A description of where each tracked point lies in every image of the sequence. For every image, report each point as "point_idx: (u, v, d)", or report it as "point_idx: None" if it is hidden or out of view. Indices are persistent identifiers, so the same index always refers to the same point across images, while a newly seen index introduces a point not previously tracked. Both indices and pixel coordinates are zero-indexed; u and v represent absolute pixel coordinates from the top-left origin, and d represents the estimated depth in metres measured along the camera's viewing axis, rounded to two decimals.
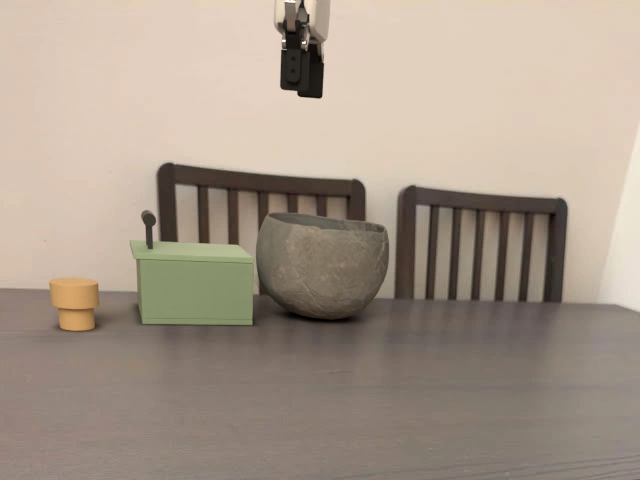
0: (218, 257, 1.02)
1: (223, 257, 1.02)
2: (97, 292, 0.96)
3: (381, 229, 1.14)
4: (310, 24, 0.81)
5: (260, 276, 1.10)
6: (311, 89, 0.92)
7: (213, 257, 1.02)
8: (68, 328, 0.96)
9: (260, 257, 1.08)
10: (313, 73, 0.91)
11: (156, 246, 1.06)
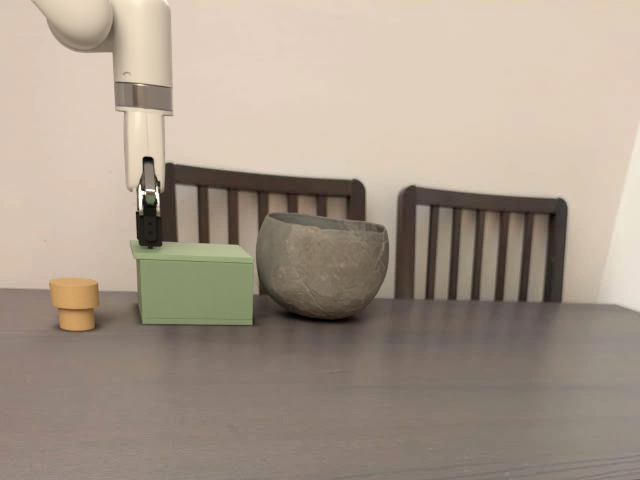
0: (218, 257, 1.02)
1: (223, 257, 1.02)
2: (97, 292, 0.96)
3: (381, 229, 1.14)
4: None
5: (260, 276, 1.10)
6: None
7: (213, 257, 1.02)
8: (68, 328, 0.96)
9: (260, 257, 1.08)
10: None
11: None
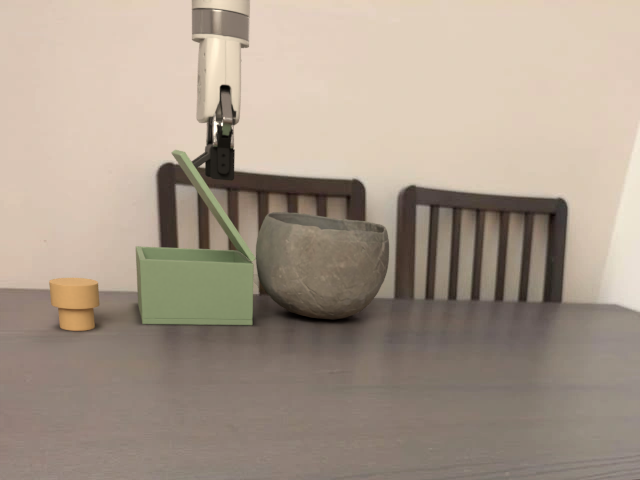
0: (234, 228, 1.01)
1: (237, 233, 1.01)
2: (97, 292, 0.96)
3: (381, 229, 1.14)
4: None
5: (260, 276, 1.10)
6: None
7: (231, 224, 1.01)
8: (68, 328, 0.96)
9: (260, 257, 1.08)
10: None
11: None
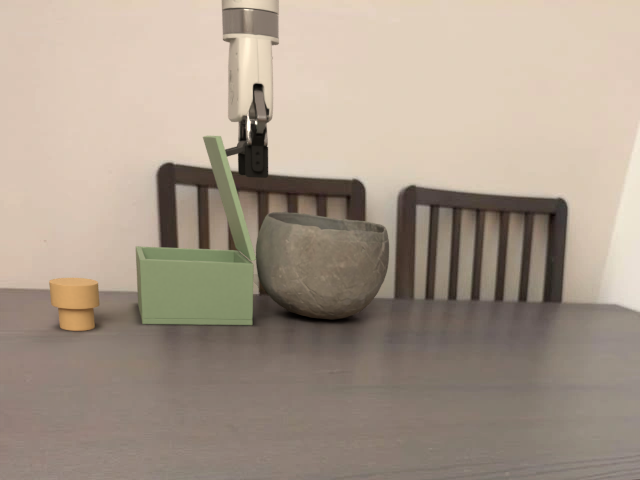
0: (245, 224, 1.01)
1: (246, 229, 1.02)
2: (97, 292, 0.96)
3: (381, 229, 1.14)
4: None
5: (260, 276, 1.10)
6: None
7: (243, 219, 1.01)
8: (68, 328, 0.96)
9: (260, 257, 1.08)
10: None
11: None
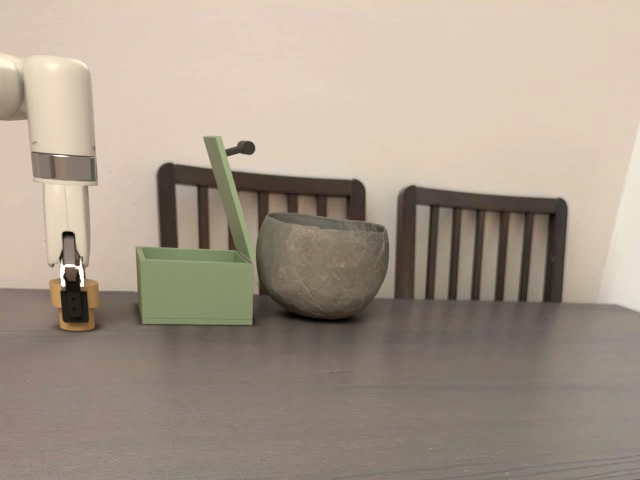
0: (245, 224, 1.01)
1: (246, 229, 1.02)
2: (97, 292, 0.96)
3: (381, 229, 1.14)
4: (84, 269, 0.92)
5: (260, 276, 1.10)
6: None
7: (243, 219, 1.01)
8: (68, 328, 0.96)
9: (260, 257, 1.08)
10: None
11: None
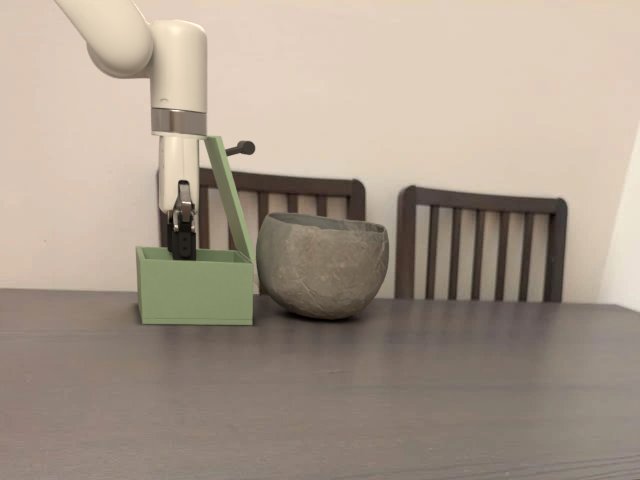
0: (245, 224, 1.01)
1: (246, 229, 1.02)
2: None
3: (381, 229, 1.14)
4: (195, 212, 1.01)
5: (260, 276, 1.10)
6: None
7: (243, 219, 1.01)
8: None
9: (260, 257, 1.08)
10: None
11: None
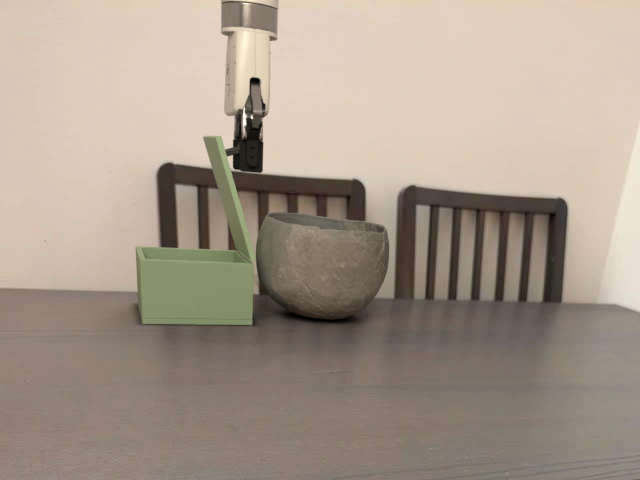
0: (245, 224, 1.01)
1: (246, 229, 1.02)
2: None
3: (381, 229, 1.14)
4: None
5: (260, 276, 1.10)
6: None
7: (243, 219, 1.01)
8: None
9: (260, 257, 1.08)
10: None
11: None
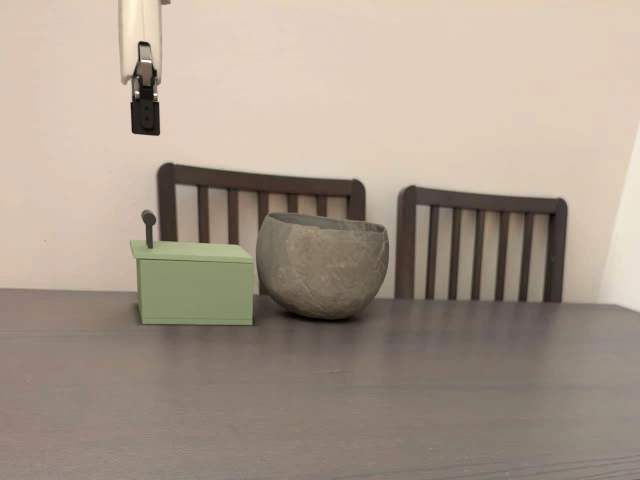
0: (218, 257, 1.02)
1: (223, 257, 1.02)
2: None
3: (381, 229, 1.14)
4: (158, 78, 0.93)
5: (260, 276, 1.10)
6: None
7: (213, 257, 1.02)
8: None
9: (260, 257, 1.08)
10: None
11: (156, 246, 1.06)
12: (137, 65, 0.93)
